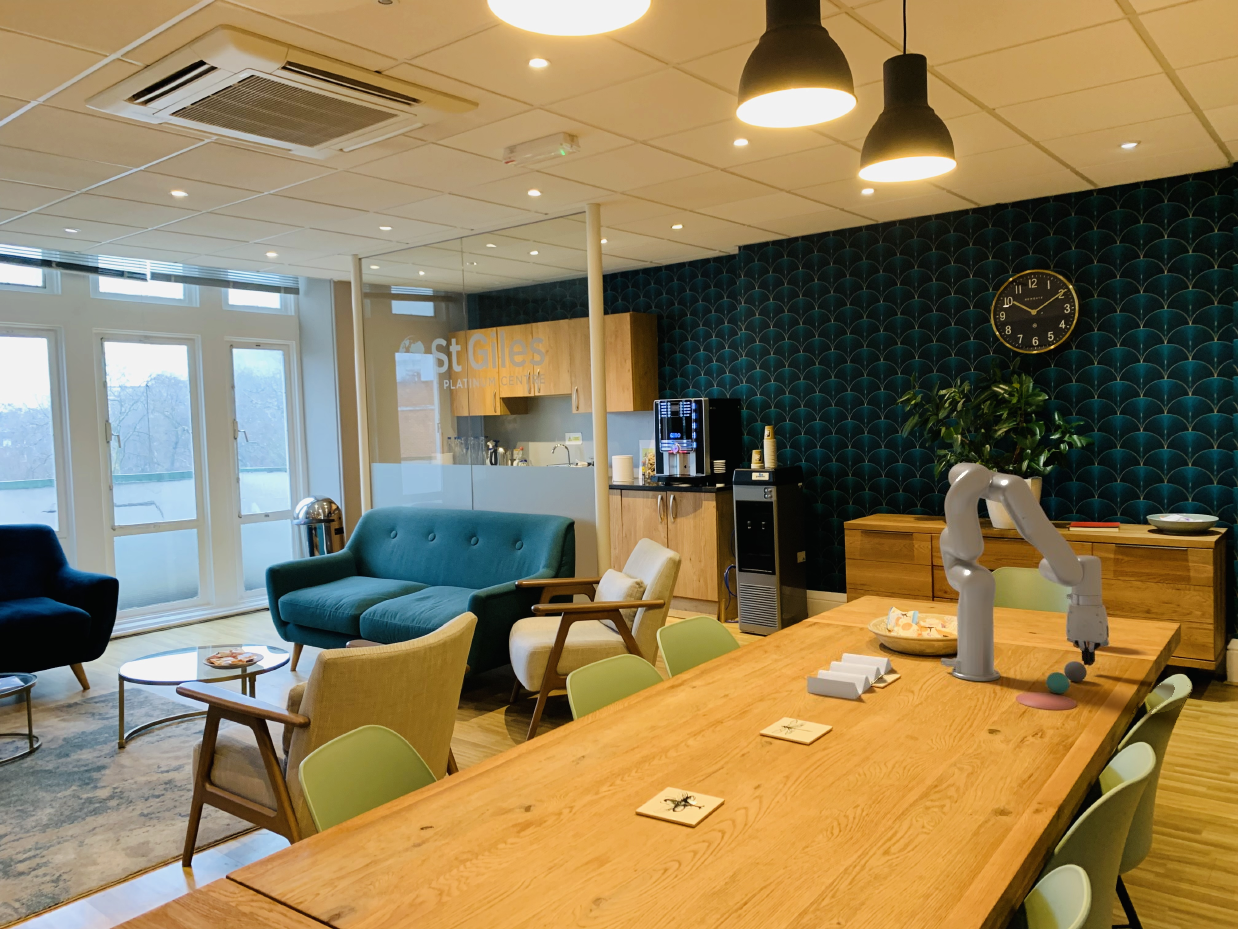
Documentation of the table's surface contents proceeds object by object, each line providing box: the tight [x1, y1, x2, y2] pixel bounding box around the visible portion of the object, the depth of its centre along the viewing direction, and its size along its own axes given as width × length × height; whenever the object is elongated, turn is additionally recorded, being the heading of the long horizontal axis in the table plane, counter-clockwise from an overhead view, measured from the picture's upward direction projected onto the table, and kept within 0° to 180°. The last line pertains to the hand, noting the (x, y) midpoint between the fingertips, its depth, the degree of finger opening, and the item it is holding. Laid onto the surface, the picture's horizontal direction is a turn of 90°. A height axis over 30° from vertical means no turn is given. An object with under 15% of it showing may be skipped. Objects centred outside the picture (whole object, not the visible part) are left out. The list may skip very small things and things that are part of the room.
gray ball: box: [1063, 660, 1088, 683], centre depth 244 cm, size 6×6×6 cm
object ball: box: [1045, 671, 1071, 695], centre depth 234 cm, size 6×6×6 cm
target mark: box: [1015, 691, 1077, 711], centre depth 228 cm, size 14×14×1 cm
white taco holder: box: [806, 652, 893, 700], centre depth 252 cm, size 13×35×5 cm, turn 147°
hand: (1088, 664), depth 251 cm, fingers closed
